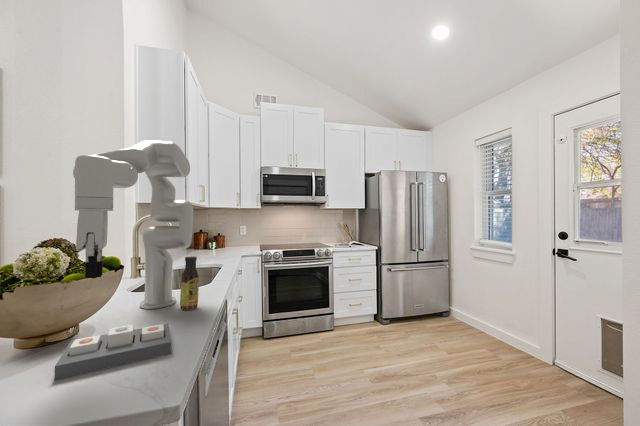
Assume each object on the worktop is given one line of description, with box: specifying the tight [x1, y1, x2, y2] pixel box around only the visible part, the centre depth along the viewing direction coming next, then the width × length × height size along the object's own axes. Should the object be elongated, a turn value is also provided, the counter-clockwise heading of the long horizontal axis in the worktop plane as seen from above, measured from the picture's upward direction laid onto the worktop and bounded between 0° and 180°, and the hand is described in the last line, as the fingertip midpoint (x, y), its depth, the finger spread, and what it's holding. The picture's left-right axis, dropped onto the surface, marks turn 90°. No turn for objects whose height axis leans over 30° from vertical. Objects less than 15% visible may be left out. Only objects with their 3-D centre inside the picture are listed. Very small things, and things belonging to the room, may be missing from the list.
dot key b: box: [70, 334, 102, 356], centre depth 66 cm, size 5×5×4 cm
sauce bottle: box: [179, 256, 200, 312], centre depth 104 cm, size 6×6×20 cm
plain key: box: [107, 324, 135, 348], centre depth 70 cm, size 5×5×4 cm
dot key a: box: [141, 323, 164, 341], centre depth 73 cm, size 5×5×4 cm
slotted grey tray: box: [53, 323, 172, 381], centre depth 70 cm, size 14×22×3 cm, turn 122°
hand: (94, 276), depth 68 cm, fingers closed
